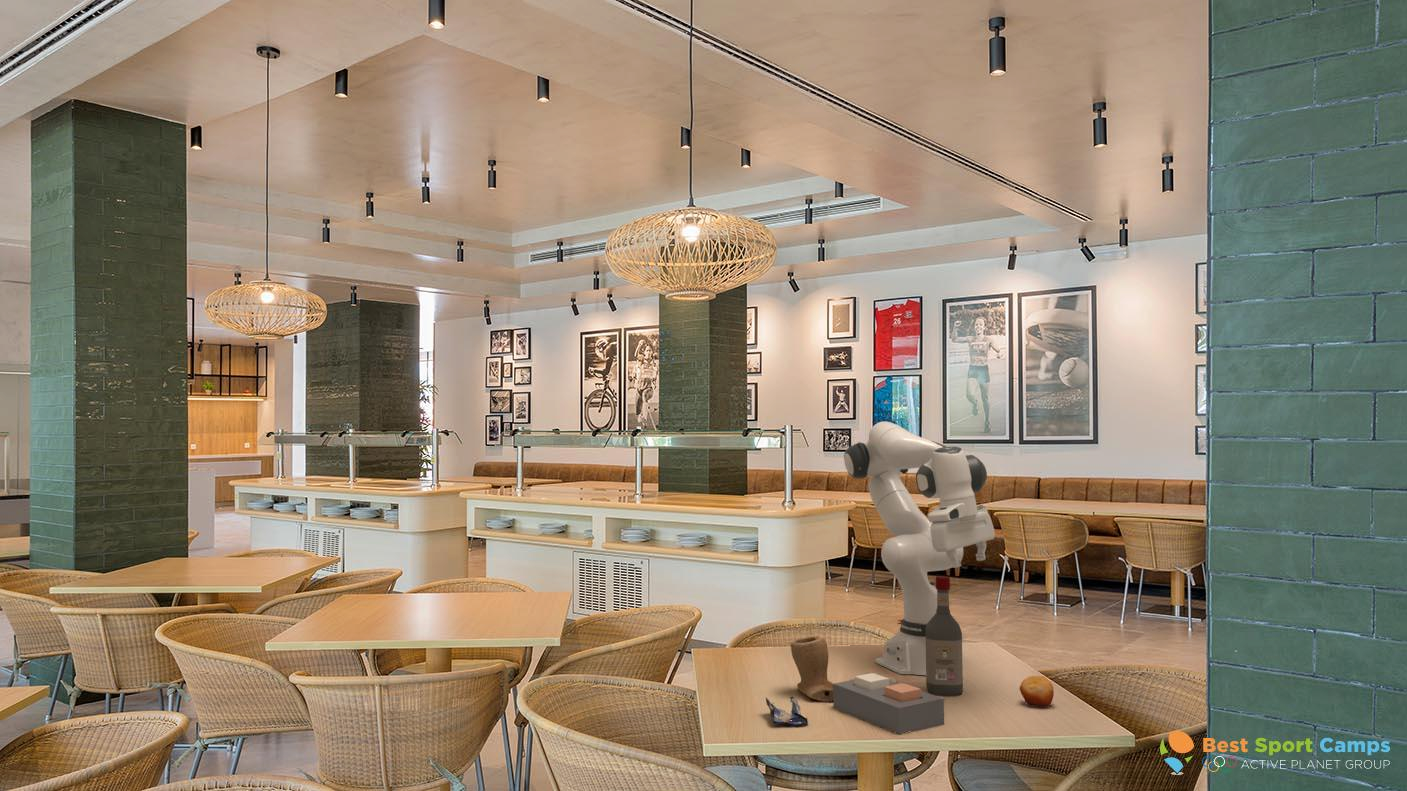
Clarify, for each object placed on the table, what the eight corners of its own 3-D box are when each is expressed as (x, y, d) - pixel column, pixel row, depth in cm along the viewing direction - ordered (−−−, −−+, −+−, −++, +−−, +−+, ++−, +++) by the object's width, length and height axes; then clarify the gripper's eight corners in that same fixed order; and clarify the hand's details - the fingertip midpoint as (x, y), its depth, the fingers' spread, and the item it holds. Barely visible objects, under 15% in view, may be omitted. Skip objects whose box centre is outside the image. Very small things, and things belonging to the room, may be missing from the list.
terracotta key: (884, 700, 227) (884, 686, 227) (903, 696, 230) (903, 683, 230) (901, 706, 222) (901, 692, 222) (920, 702, 225) (920, 689, 225)
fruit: (1058, 695, 242) (1054, 671, 238) (1053, 718, 236) (1049, 695, 232) (1025, 690, 246) (1021, 667, 242) (1020, 713, 240) (1015, 690, 236)
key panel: (833, 707, 237) (833, 683, 237) (876, 699, 244) (876, 675, 244) (899, 734, 217) (899, 708, 217) (944, 724, 224) (943, 698, 224)
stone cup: (786, 689, 254) (785, 632, 255) (828, 686, 257) (828, 630, 257) (802, 705, 240) (801, 645, 240) (847, 702, 242) (846, 643, 242)
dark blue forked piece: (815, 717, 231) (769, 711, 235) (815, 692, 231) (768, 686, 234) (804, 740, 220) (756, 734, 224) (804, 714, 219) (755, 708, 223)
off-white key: (854, 689, 236) (854, 676, 236) (873, 685, 239) (873, 673, 239) (870, 695, 231) (870, 682, 231) (889, 691, 234) (889, 678, 234)
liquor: (963, 697, 246) (961, 580, 247) (927, 695, 247) (925, 579, 248) (961, 687, 255) (959, 575, 255) (926, 685, 256) (924, 574, 257)
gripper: (975, 504, 251) (985, 556, 250) (923, 516, 239) (933, 571, 238) (995, 502, 246) (1005, 556, 245) (942, 515, 234) (952, 570, 233)
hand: (969, 563), depth 241 cm, fingers open, 8 cm apart
